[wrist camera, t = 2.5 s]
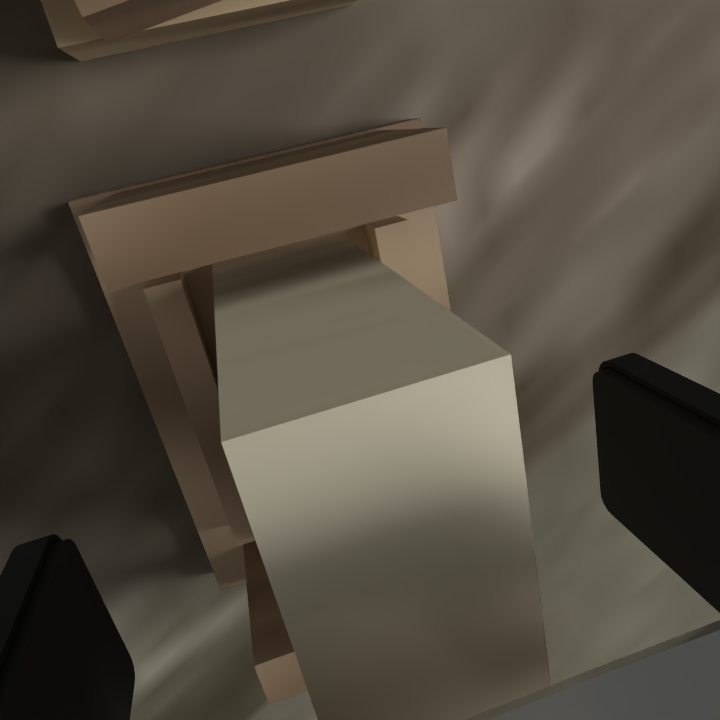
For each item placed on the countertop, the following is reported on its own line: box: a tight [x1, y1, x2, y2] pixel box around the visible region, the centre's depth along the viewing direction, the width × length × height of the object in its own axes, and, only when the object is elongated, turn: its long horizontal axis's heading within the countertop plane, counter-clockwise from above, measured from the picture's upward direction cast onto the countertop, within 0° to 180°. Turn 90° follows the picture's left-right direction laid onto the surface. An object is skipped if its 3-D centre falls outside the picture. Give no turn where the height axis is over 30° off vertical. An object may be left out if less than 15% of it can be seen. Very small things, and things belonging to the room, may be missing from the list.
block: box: [212, 231, 551, 720], centre depth 11 cm, size 7×3×9 cm, turn 12°
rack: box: [68, 118, 457, 704], centre depth 14 cm, size 11×8×5 cm
